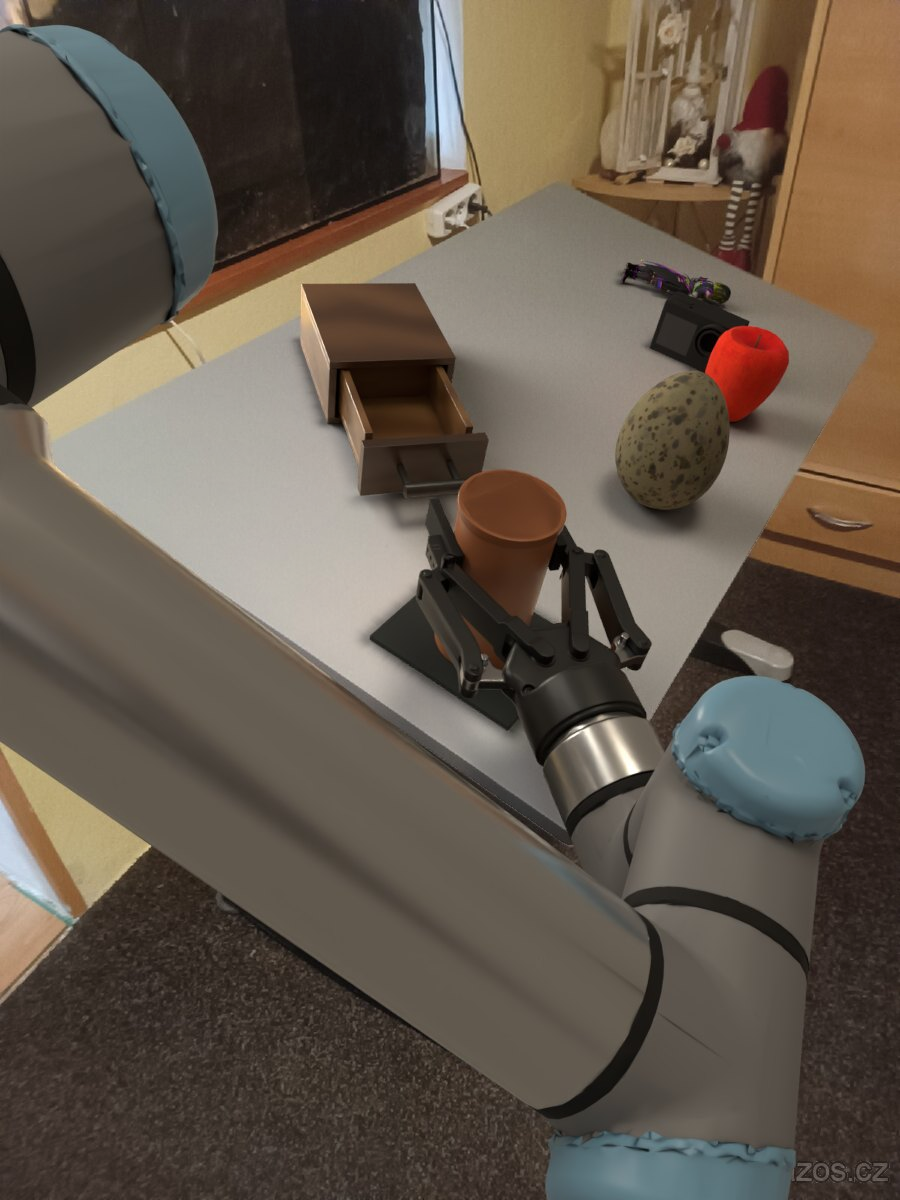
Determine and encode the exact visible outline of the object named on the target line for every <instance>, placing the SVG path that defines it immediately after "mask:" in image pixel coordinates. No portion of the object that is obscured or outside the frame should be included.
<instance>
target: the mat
mask: <svg viewBox="0 0 900 1200" xmlns="http://www.w3.org/2000/svg"><path fill="white" fill-rule="evenodd" d="M553 624H554V623H553V622H551V620H548V619H546V618H545V617H543V616H541V615H540V614H538V613H536V612H535V611H534V613H533V616H532V619H531V622H530V626H529V627H532V626H539V627H548V626H550V625H553ZM369 640H370V641H371V642H373V643H375V644H376V645H378V646H380V647H381V648H382V649H384V650H385V651H387V652H388V653H390V654H391V655H393V656H395V657H396V658H398V659H399V660H400V661H402V662H403V663H404V664H406V665H408V666H409V667H411V668H412V669H414V670H415V671H417V672H418V673H420V674H421V675H423V676H425V677H426V678H427V679H429V680H430V681H432V682H434V683H435V684H436V685H438V686H440V687H441V688H443V689H444V690H446V691H447V692H449V693H450V694H452V695H453V696H454V697H456V698H457V699H459V700H461V701H462V702H464V703H465V704H466V705H468V706H469V707H471V708H472V709H474V710H476V711H477V712H479V713H481V715H484V716H485V717H487V718H488V719H489V720H490V721H492V722H494V723H496V724H497V725H498V726H500V727H502V728H503V729H505V730H506V731H509V730H510V728H511V727H512V726H513V725H514V723H516V721H517V720H518V719H519V716H518V712H517V709H516V706H515V705H514V703H513V702H512V701H511V700H510V699H509V698H508V697H506V696H505V695H504V694H503V692H502V691H501V690H478V692H477V695H476V696H475V697H473V698H466V697H464V696H462V695H461V693H460V691H459V683H458V675H457V670H456V668H455V667H454V665H453V663H452V662H450V661H449V660H448V659H447V658H446V657H445V656H444V655H443V654H442V653H441V652H440V650H439V648H438V646H437V644H436V641H435V632H434V630H433V629H432V627H431V625H430V623H429V622H428V620H427V618H426V616H425V615H424V613H423V611H422V610H421V608H420V606H419V604H418V603H417V601H416V594H415V595H414V596H413V597H412V598H410V599H409V600H408V601H407V602H406V603H405V604H404V605H403V606H401V607H400V608H399V609H398V610H397V611H396V612H395V613H394V614H392V615H391V616H390V617H389V618H388V619H387V620H386V621H385V622H384V623H382V624H381V625H380V626H378V628H377V629H376V630H374V631H373V632H372V633H371V634H370V635H369Z"/></svg>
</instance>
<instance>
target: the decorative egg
mask: <svg viewBox="0 0 900 1200" xmlns="http://www.w3.org/2000/svg"><path fill="white" fill-rule="evenodd" d="M730 427H731V426H730V422H729V415H728V409H727V405H726V401H725V398H724V396H723V393H722V392H721V390H720V388H719V386H718V385H717V383H716V382H715V381H714V380H713V379H712V378H711V377H710V376H709V375H707V374H705V373H704V372H701V371H699V370H686V371H681V372H677V373H675V374H673V375H671V376H668V377H667V378H665V379H663V380H660V382H658V383H656V384H655V385H653V387H651V388H650V389H649V390H648V391H647V392H646V393H645V394H644V395H643V396H642V397H641V398H639V400H638V401H637V402H636V403H635V405H634V406H633V407H632V409H631V410H630V411H629V413H628V414H627V416H626V418H625V420H624V422H623V423H622V426H621V428H620V431H619V433H618V436H617V440H616V443H615V444H616V445H615V453H614V457H615V459H614V461H615V469H616V472H617V473H616V474H617V476H618V478H619V481H620V483H621V485H622V486H623V488H624V490H625V491H626V492H627V494H629V496H630V497H631V499H633V500H635V502H637V503H639V504H640V505H643V506H644V507H647V508H649V509H654V510H659V511H660V510H662V511H666V510H667V511H668V510H677V509H679V508H682V507H686V506H687V505H690V504H692V503H694V502H696V501H697V500H698V499H699V498H701V497H702V496H704V494H706V493H707V492H708V491H709V490H710V488H711V487H712V486H713V485H714V483H715V482H716V480H718V478H719V475H720V473H721V471H722V469H723V467H724V464H725V462H726V459H727V455H728V450H729V445H730V436H731V433H730V429H731V428H730Z"/></svg>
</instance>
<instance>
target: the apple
mask: <svg viewBox="0 0 900 1200" xmlns="http://www.w3.org/2000/svg"><path fill="white" fill-rule="evenodd" d="M789 364H790V352H789V350H788V348H787V346H786V345H785V343H784V341H783V340H782V339H781V337H779V336H778V335H777V334H775V333H774V332H772V331H770V330H769V329H765V328H762V327H758V326H751V325H748V326H739V327H734V328H732V329H730V330H728V331H725V332H724V333H723V334H722V335H721V336H720V338H719V339H718V341H717V343H716V345H715V347H714V349H713V351H712V353H711V355H710V358H709V361H708V364H707V368H706V371H705V374H707V375H709V376H710V377H711V378H712V379H713V380H714V381H715V382H716V383H717V385H718V386H719V388H720V390H721V392H722V393H723V396H724V398H725V401H726V405H727V409H728V415H729V423H731V422H733V423H734V422H739V421H740V420H741V421H742V420H743V419H744V418H746V417H747V416H748V415H750V414H751V413H753V412H754V411H755V410H757V409H758V408H759V407H760V406H761V405H762V404H763V403H764V402H765V401H766V400H767V399H768V398H769V397H770V396H771V395H772V393H773V392H774V391H775V389H776V388H777V387H778V386H779V384H780V383H781V380H782V379H783V377H784V375H785V373H786V371H787V369H788V366H789Z"/></svg>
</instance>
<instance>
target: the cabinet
mask: <svg viewBox="0 0 900 1200" xmlns="http://www.w3.org/2000/svg"><path fill="white" fill-rule="evenodd" d="M299 341H300V342H299V343H300V346H301V350H302V352H303V355H304V358H305V362H306V365H307V367H308V370H309V373H310V376H311V379H312V382H313V385H314V389H315V392H316V394H317V397H318V401H319V403H320V406H321V409H322V412H323V416H324V417H325V422H326V424H327V425H329V424H343V422H342V419H341V417H340V414H339V411H338V408H337V405H336V402H335V400H336V380H337V369H339V368H366V367H394V366H422V365H442V367H443V369H444V370H445V372H446V374H447V376H448V378H449V380H450V382H451V384H452V385H453V379H454V373H455V367H456V360H457V357H456V356H455V354H454V352H453V349H452V348H451V346H450V344H449V343H448V341H447V339H446V337H445V335H444V334H443V332H442V329H441V328H440V326H439V324H438V321H436V318H435V317H434V315H433V313H432V312H431V310H430V307H429V306H428V304H427V302H426V301H425V298H424V297H423V295H422V293H421V291H420V289H419V287H418V286H417V284H416V283H415V282H405V283H404V282H401V283H400V282H394V283H392V282H391V283H390V282H389V283H387V282H386V283H385V282H384V283H383V282H381V283H379V282H377V283H371V282H370V283H369V282H368V283H367V282H365V283H363V282H361V283H359V282H357V283H301V284H300V340H299Z"/></svg>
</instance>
